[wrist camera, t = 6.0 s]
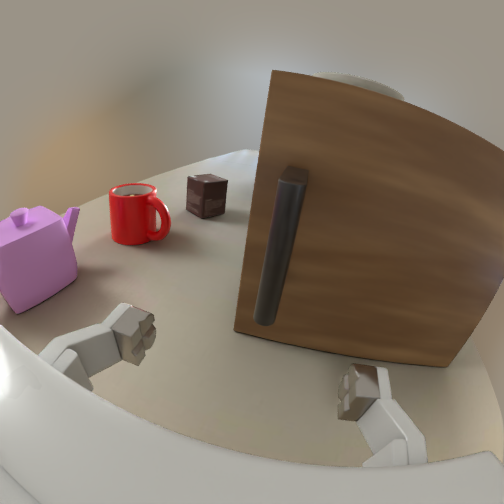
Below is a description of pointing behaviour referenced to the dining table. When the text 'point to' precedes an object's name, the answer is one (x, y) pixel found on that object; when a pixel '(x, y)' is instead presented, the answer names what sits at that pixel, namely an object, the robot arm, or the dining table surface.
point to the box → (206, 195)
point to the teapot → (36, 255)
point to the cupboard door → (369, 226)
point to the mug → (137, 214)
